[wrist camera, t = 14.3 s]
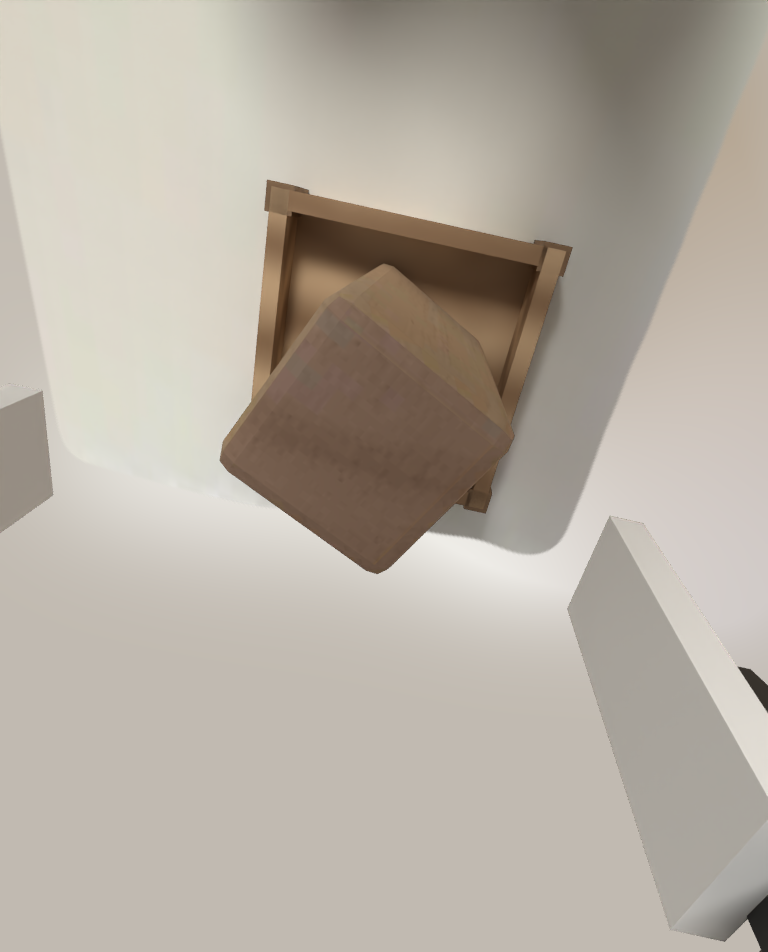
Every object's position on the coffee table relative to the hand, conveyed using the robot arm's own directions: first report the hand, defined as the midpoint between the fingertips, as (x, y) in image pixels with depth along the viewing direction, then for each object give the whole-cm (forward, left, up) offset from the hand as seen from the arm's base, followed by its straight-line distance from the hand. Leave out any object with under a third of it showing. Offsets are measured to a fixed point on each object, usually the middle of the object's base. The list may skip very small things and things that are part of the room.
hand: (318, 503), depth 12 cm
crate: (+3, 0, -31) cm, 31 cm away
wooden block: (+3, 0, -30) cm, 30 cm away
